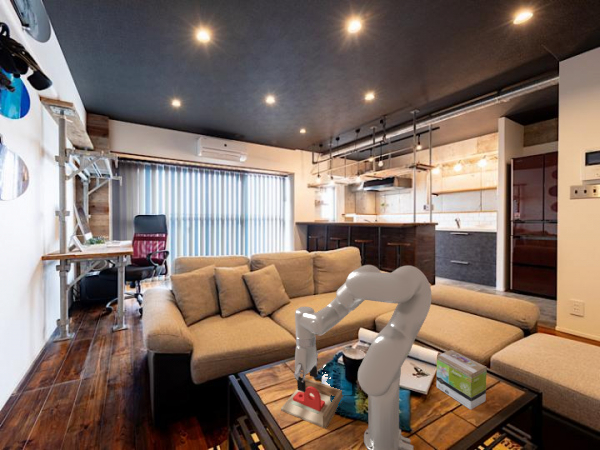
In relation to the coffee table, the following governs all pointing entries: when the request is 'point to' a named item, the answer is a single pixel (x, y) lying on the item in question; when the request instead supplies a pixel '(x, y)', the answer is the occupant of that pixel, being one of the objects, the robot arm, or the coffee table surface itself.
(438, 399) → the coffee table surface
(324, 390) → the tray
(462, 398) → the tea box
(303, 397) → the bracket
